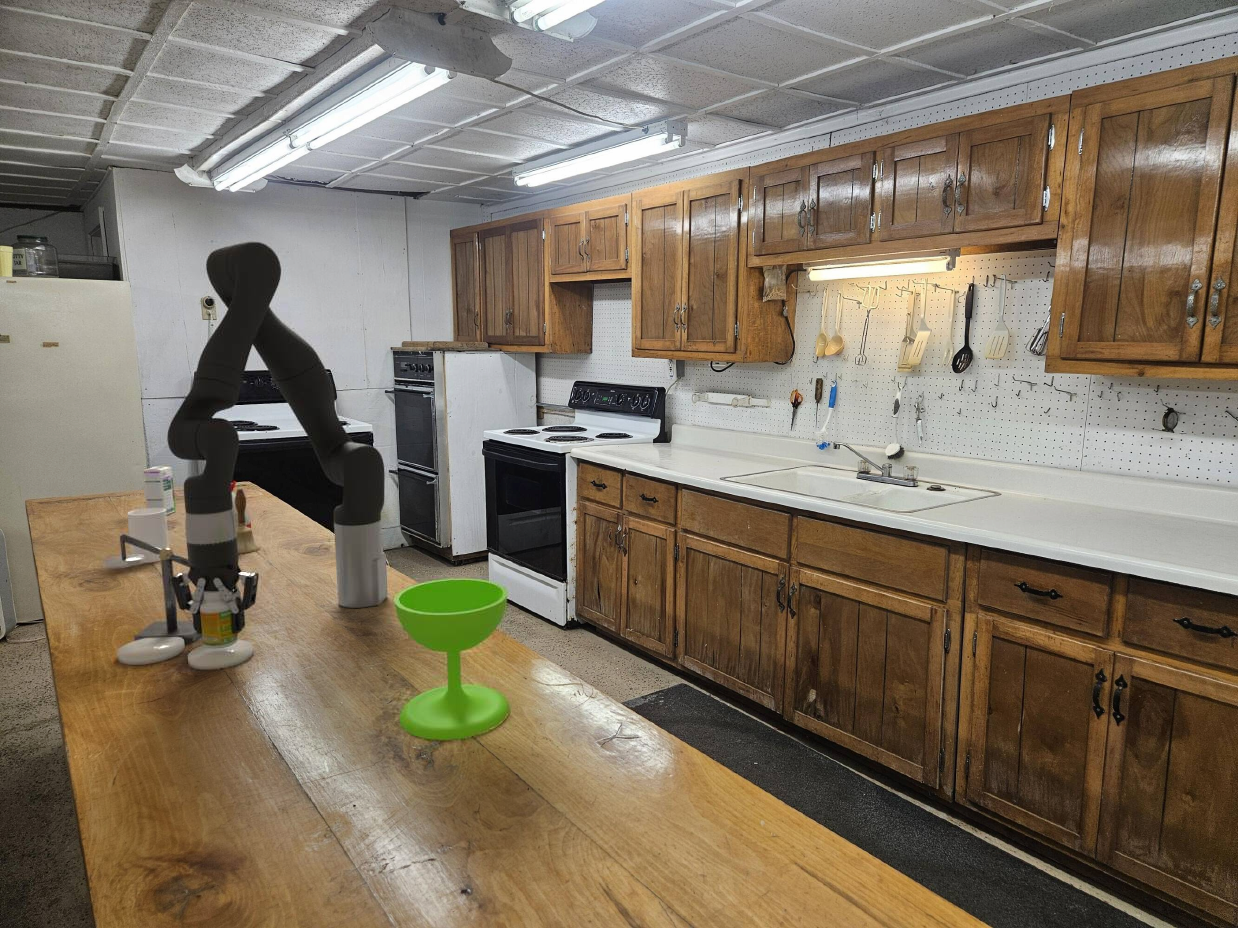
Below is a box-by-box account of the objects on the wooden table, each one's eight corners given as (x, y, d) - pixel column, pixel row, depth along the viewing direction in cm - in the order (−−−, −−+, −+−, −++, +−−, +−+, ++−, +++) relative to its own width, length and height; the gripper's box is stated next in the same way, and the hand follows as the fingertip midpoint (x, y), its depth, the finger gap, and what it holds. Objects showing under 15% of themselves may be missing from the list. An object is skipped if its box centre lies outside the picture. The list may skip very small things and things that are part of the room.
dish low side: (263, 646, 139) (262, 639, 139) (237, 669, 129) (236, 662, 129) (207, 646, 139) (206, 639, 139) (176, 669, 129) (175, 662, 129)
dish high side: (195, 641, 141) (195, 635, 141) (164, 664, 131) (164, 658, 131) (140, 641, 141) (139, 635, 141) (104, 664, 131) (104, 658, 131)
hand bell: (262, 544, 207) (258, 485, 204) (258, 552, 199) (254, 491, 197) (228, 546, 204) (223, 487, 202) (222, 555, 197) (218, 493, 194)
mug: (125, 555, 196) (120, 508, 194) (163, 549, 202) (159, 503, 200) (134, 565, 187) (130, 516, 186) (174, 558, 193) (170, 511, 191)
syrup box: (165, 515, 239) (161, 469, 236) (146, 515, 239) (142, 469, 237) (176, 511, 244) (172, 466, 242) (157, 511, 244) (153, 466, 242)
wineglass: (417, 687, 123) (412, 577, 120) (518, 689, 123) (516, 579, 120) (383, 738, 107) (377, 614, 104) (499, 741, 107) (496, 615, 104)
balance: (239, 627, 148) (232, 527, 145) (224, 641, 141) (216, 537, 138) (123, 630, 146) (113, 529, 143) (103, 644, 139) (91, 539, 136)
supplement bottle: (223, 650, 131) (219, 595, 129) (195, 648, 132) (190, 593, 130) (245, 638, 136) (241, 585, 134) (218, 636, 137) (213, 583, 135)
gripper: (264, 530, 134) (271, 624, 137) (180, 530, 134) (189, 624, 137) (244, 542, 127) (252, 640, 130) (155, 542, 127) (165, 640, 130)
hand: (219, 631), depth 133 cm, fingers closed on supplement bottle, 5 cm apart
